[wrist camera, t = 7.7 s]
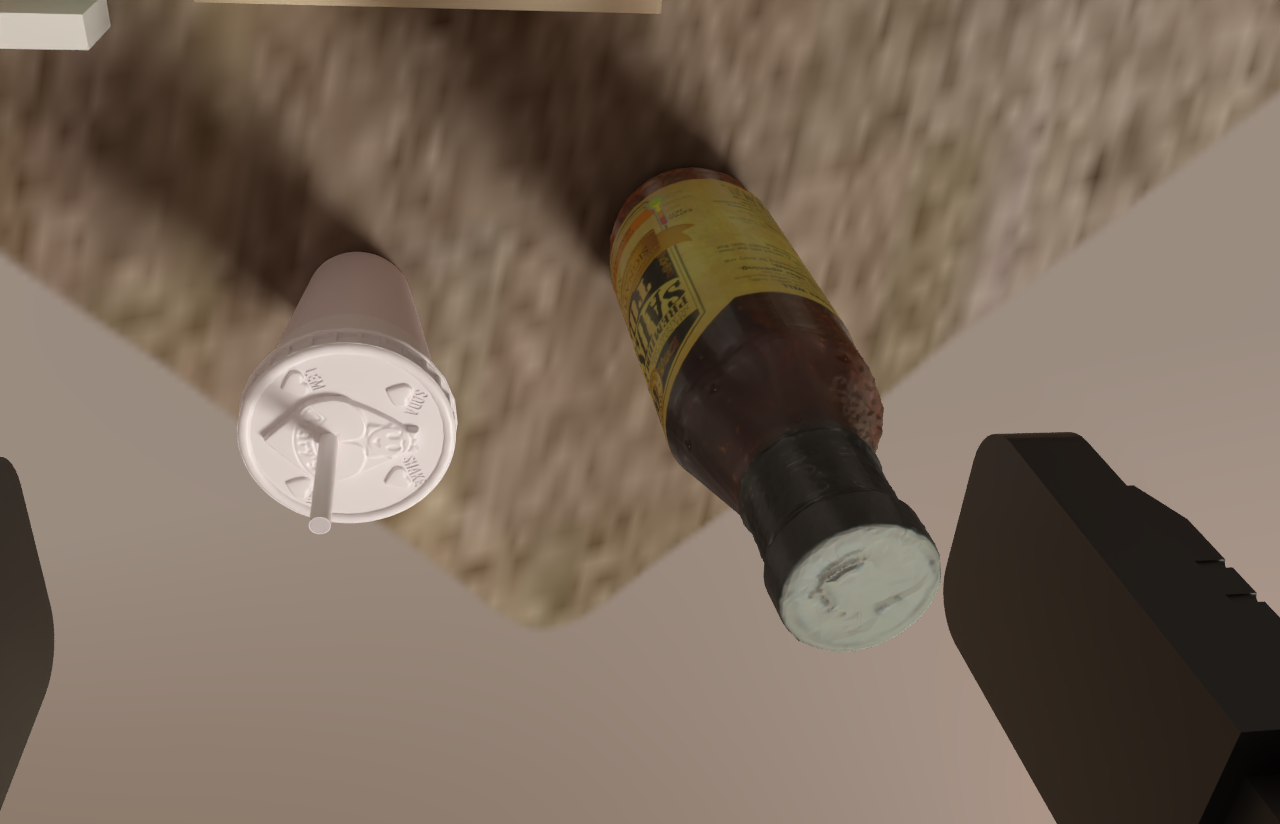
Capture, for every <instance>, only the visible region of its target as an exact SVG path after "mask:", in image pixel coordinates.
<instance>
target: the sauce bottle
mask: <svg viewBox="0 0 1280 824" xmlns="http://www.w3.org/2000/svg"><path fill="white" fill-rule="evenodd" d="M609 260H610V273H611V280H612V284H613V288H614V291H615V293H616V297H617V299H618V302H619V305H620V308H621V311H622V313H623V316H624V319H625V322H626V325H627V328H628V331H629V334H630V336H631V339H632V342H633V345H634V349H635V352H636V355H637V357H638V360H639V362H640V366H641V369H642V372H643V375H644V378H645V380H646V383H647V386H648V389H649V392H650V394H651V397H652V399H653V402H654V405H655V408H656V411H657V414H658V417H659V419H660V422H661V425H662V428H663V431H664V434H665V437H666V440H667V442H668V445H669V447H670V450H671V452H672V454H673V456H674V458H675V459H676V461H677V462H678V463H679V464H680V465H681V466H682V467H683V468H684V469H685V470H686V471H687V472H689V473H690V474H692V475H693V476H694V477H695V478H696V479H697V480H699V481H700V482H701V483H702V484H703V485H705V486H706V487H707V488H708V489H709V490H711V491H712V492H713V493H714V494H715V495H717V496H718V497H719V498H720V499H721V500H723V501H724V502H725V503H726V504H727V505H729V506H730V507H731V508H732V509H733V510H734V511H736V512H737V513H738V514H739V515H740V516H741V518H742V520H743V524H744V525H745V527H746V528H747V529H748V530H749V531H750V532H751V533H752V534H753V537H754V540H755V542H756V544H757V546H758V549H759V551H760V555H761V558H762V559H763V561H764V582H765V587H766V589H767V592H768V594H769V596H770V598H771V600H772V602H773V604H774V606H775V608H776V610H777V612H778V614H779V616H780V618H781V620H782V622H783V624H784V625H785V627H786V628H787V629H788V631H790V632H791V633H792V634H793V635H794V636H795V637H796V638H797V640H798V641H801V642H803V643H806V644H809V645H811V646H813V647H816V648H820V649H824V650H829V651H834V652H845V651H858V650H861V649H865V648H870V647H873V646H876V645H879V644H881V643H883V642H886V641H887V640H889V639H891V638H893V637H895V636H896V635H899V634H901V633H902V632H903V631H904V630H905V629H907V628H908V627H909V626H910V625H911V624H913V623H914V622H916V621H917V620H918V619H919V618H920V617H921V615H922V614H923V613H924V612H925V611H926V610H927V609H928V607H929V606H930V604H931V602H932V601H933V599H934V597H935V595H936V593H937V591H938V588H939V585H940V578H941V569H940V555H939V552H938V550H937V548H936V546H935V543H934V542H933V540H932V539H931V537H930V535H929V533H928V532H927V531H926V529H925V526H924V525H923V524H922V523H921V522H920V520H919V518H918V517H917V515H916V513H915V512H914V511H913V510H912V509H911V508H910V507H909V506H908V505H907V504H906V503H904V502H903V501H901V500H899V499H898V498H897V496H896V494H895V492H894V491H893V489H892V487H891V486H890V485H889V483H888V481H887V480H886V478H885V476H884V474H883V472H882V466H881V464H880V461H879V459H878V457H877V456H876V454H875V452H876V450H877V448H878V443H879V439H880V438H881V435H882V425H883V423H882V422H883V411H884V410H883V409H884V408H883V405H882V403H881V399H880V395H879V393H878V390H877V387H876V384H875V379H874V378H873V376H872V374H871V372H870V369H869V367H868V366H867V364H866V363H865V361H864V360H863V358H862V357H861V355H860V354H859V353H858V350H856V348H855V346H854V343H853V340H852V338H851V336H850V334H849V331H848V330H847V328H846V326H845V325H844V323H843V322H842V320H841V319H840V317H839V316H838V314H837V313H836V311H835V310H834V308H833V307H832V305H831V304H830V302H829V301H828V299H827V298H826V296H825V295H824V293H823V292H822V290H821V289H820V287H819V286H818V285H817V283H816V282H815V280H814V279H813V277H812V276H811V274H810V273H809V271H808V270H807V268H806V267H805V265H804V264H803V262H802V261H801V259H800V258H799V256H798V255H797V253H796V252H795V250H794V249H793V247H792V246H791V244H790V243H789V241H788V240H787V238H786V237H785V235H784V234H783V232H782V231H781V229H780V228H779V226H778V225H777V223H776V222H775V221H774V219H773V218H772V216H771V215H770V213H769V212H768V210H767V209H766V208H765V206H764V205H763V204H762V203H761V201H760V200H759V199H758V198H757V197H755V196H754V195H753V194H751V193H750V192H748V191H747V190H746V189H745V188H744V186H743V185H742V184H741V183H740V182H739V181H738V180H736V179H734V178H733V177H731V176H730V175H728V174H726V173H720V172H718V171H715V170H712V169H704V168H700V167H689V168H677V169H673V170H669V171H666V172H663V173H661V174H659V175H657V176H655V177H652V178H650V179H649V180H647V181H646V182H644V183H643V185H641V186H639V187H638V188H637V190H635V191H634V192H633V193H632V194H631V195H630V196H629V197H628V198H627V200H626V201H625V203H624V204H623V206H622V208H621V210H620V212H619V214H618V217H617V219H616V221H615V224H614V227H613V231H612V234H611V236H610V253H609Z"/></svg>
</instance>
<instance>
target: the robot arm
mask: <svg viewBox="0 0 1280 824" xmlns="http://www.w3.org/2000/svg"><path fill="white" fill-rule="evenodd" d="M943 595H944V608H945V614H946V619H947V623H948V627H949V630H950V633H951V636H952V638H953V640H954V642H955V644H956V646H957V648H958V649H959V651H960V653H961V655H962V657H963V658H964V660H965V662H966V664H967V665H968V667H969V669H970V671H971V673H972V674H973V676H974V678H975V680H976V681H977V683H978V685H979V687H980V688H981V690H982V692H983V693H984V695H985V697H986V699H987V701H988V703H989V704H990V706H991V708H992V710H993V711H994V713H995V715H996V717H997V719H998V720H999V722H1000V724H1001V726H1002V727H1003V729H1004V731H1005V733H1006V734H1007V736H1008V738H1009V740H1010V741H1011V743H1012V745H1013V747H1014V749H1015V750H1016V752H1017V754H1018V756H1019V757H1020V759H1021V761H1022V763H1023V764H1024V766H1025V768H1026V770H1027V771H1028V773H1029V775H1030V777H1031V779H1032V780H1033V782H1034V784H1035V786H1036V787H1037V789H1038V791H1039V793H1040V794H1041V796H1042V798H1043V800H1044V802H1045V803H1046V805H1047V807H1048V809H1049V810H1050V812H1051V814H1052V815H1053V817H1054V819H1055V821H1056V823H1057V824H1280V617H1279V616H1278V615H1277V614H1276V613H1275V612H1274V611H1273V610H1272V609H1271V608H1270V607H1269V606H1268V605H1267V604H1266V602H1258V601H1257V599H1256V592H1255V591H1254V590H1253V589H1252V588H1251V587H1250V585H1249V584H1248V583H1247V582H1246V581H1245V580H1244V579H1243V578H1242V577H1241V576H1240V575H1239V574H1238V573H1237V572H1236V570H1235V569H1234V568H1226V567H1225V559H1224V558H1223V557H1222V556H1221V555H1220V554H1219V553H1218V551H1217V550H1216V549H1215V548H1214V547H1213V546H1212V545H1211V544H1210V543H1209V542H1208V541H1207V540H1206V539H1205V538H1204V536H1203V535H1202V534H1201V533H1200V532H1199V531H1198V530H1197V529H1196V528H1195V527H1194V526H1193V525H1192V524H1191V523H1190V522H1189V521H1188V519H1186V518H1185V517H1183V516H1181V515H1180V514H1178V513H1177V512H1175V511H1173V510H1172V509H1170V508H1169V507H1167V506H1165V505H1164V504H1162V503H1161V502H1159V501H1158V500H1156V499H1154V498H1153V497H1151V496H1150V495H1148V494H1146V493H1145V492H1143V491H1142V490H1140V489H1138V488H1137V487H1135V486H1127V485H1126V484H1125V483H1124V482H1123V481H1122V480H1121V479H1120V478H1119V477H1118V475H1117V474H1116V473H1115V472H1114V471H1113V470H1112V469H1111V468H1110V466H1109V465H1108V464H1107V463H1106V462H1105V461H1104V460H1103V459H1102V458H1101V457H1100V456H1099V454H1098V453H1097V452H1096V451H1095V450H1094V449H1093V448H1092V447H1091V445H1090V444H1089V443H1088V442H1087V441H1086V440H1085V439H1084V438H1083V437H1082V436H1080V435H1078V434H1076V433H1072V432H1057V433H1021V434H1020V433H1017V434H993V435H990V436H988V437H987V438H985V439H984V440H983V442H982V443H981V444H980V446H979V448H978V450H977V452H976V456H975V458H974V461H973V465H972V469H971V473H970V477H969V481H968V485H967V489H966V493H965V497H964V500H963V504H962V508H961V512H960V516H959V520H958V523H957V528H956V531H955V535H954V539H953V543H952V547H951V551H950V554H949V558H948V562H947V566H946V571H945V576H944V588H943ZM53 655H54V624H53V617H52V611H51V606H50V602H49V598H48V594H47V590H46V586H45V581H44V577H43V573H42V569H41V565H40V561H39V557H38V553H37V549H36V545H35V541H34V537H33V533H32V529H31V525H30V520H29V516H28V512H27V509H26V504H25V501H24V496H23V493H22V488H21V484H20V481H19V478H18V475H17V473H16V470H15V469H14V467H13V465H12V464H11V463H10V462H9V461H8V460H7V459H6V458H4V457H0V810H1V807H2V804H3V802H4V799H5V797H6V794H7V792H8V789H9V786H10V784H11V781H12V779H13V776H14V774H15V771H16V768H17V766H18V763H19V760H20V758H21V756H22V753H23V750H24V748H25V745H26V743H27V740H28V737H29V735H30V732H31V729H32V727H33V725H34V722H35V719H36V717H37V714H38V712H39V709H40V707H41V704H42V701H43V699H44V696H45V694H46V691H47V688H48V684H49V680H50V676H51V671H52V664H53Z"/></svg>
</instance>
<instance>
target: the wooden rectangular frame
mask: <svg viewBox="0 0 1280 824" xmlns="http://www.w3.org/2000/svg"><path fill="white" fill-rule="evenodd" d="M194 2H212V3H252V4H291V5H331V6H370V7H410V8H450V9H489V10H529V11H568V12H608V13H647V14H661V4H662V0H194Z"/></svg>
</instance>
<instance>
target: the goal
mask: <svg viewBox="0 0 1280 824" xmlns="http://www.w3.org/2000/svg"><path fill="white" fill-rule="evenodd" d="M110 27H111V24H110V18H109V12H108V6H107V0H0V49H56V50H89V49H90V48H91V47H92V46H93V45H94V44H95V43H96V42H97V41H98V40H99V39H100V38H101V37H102V36H103V34H104V33H105V32H106V31H107V30H108V29H109V28H110Z"/></svg>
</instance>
